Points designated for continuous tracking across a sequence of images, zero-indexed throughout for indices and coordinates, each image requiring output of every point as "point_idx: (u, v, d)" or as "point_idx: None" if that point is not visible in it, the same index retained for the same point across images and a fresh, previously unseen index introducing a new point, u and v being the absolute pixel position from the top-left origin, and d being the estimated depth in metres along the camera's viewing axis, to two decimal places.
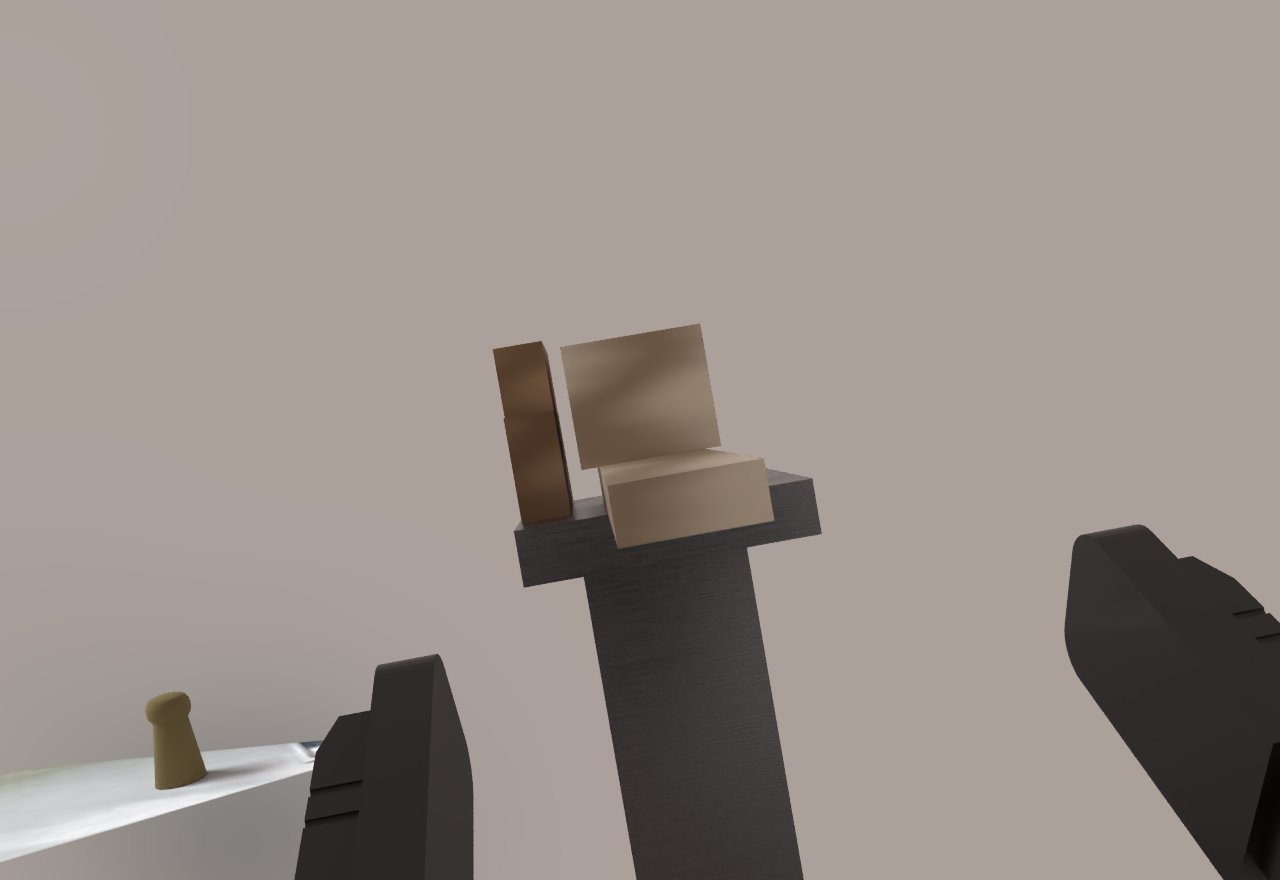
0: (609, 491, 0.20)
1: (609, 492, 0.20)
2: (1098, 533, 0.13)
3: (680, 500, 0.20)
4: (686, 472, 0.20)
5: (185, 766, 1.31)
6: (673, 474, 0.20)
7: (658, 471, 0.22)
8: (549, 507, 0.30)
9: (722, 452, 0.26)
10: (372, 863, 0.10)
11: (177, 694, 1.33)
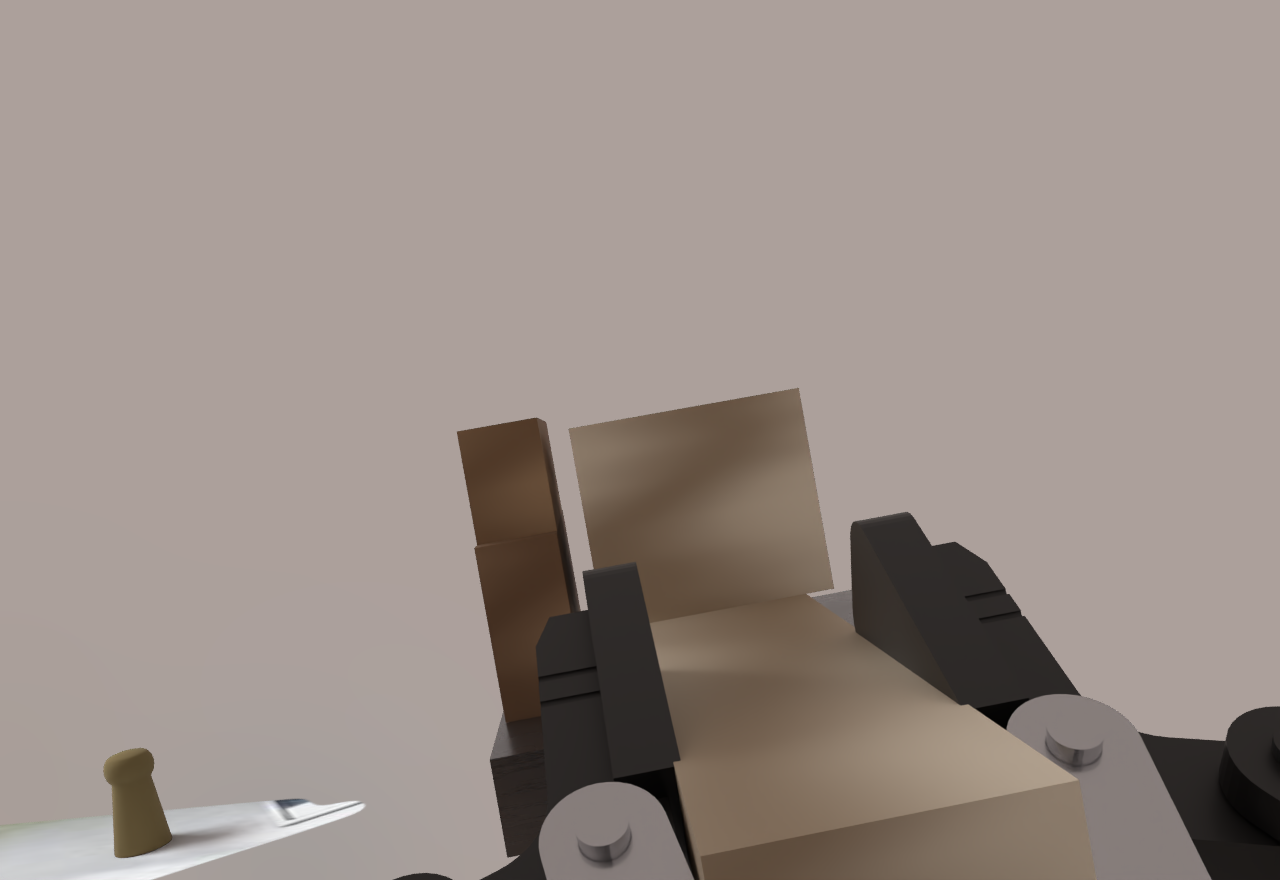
0: (705, 869, 0.08)
1: (705, 871, 0.08)
2: (866, 520, 0.13)
3: None
4: (892, 817, 0.08)
5: (147, 831, 1.19)
6: (859, 821, 0.08)
7: (793, 755, 0.10)
8: None
9: None
10: (624, 729, 0.11)
11: (139, 751, 1.21)
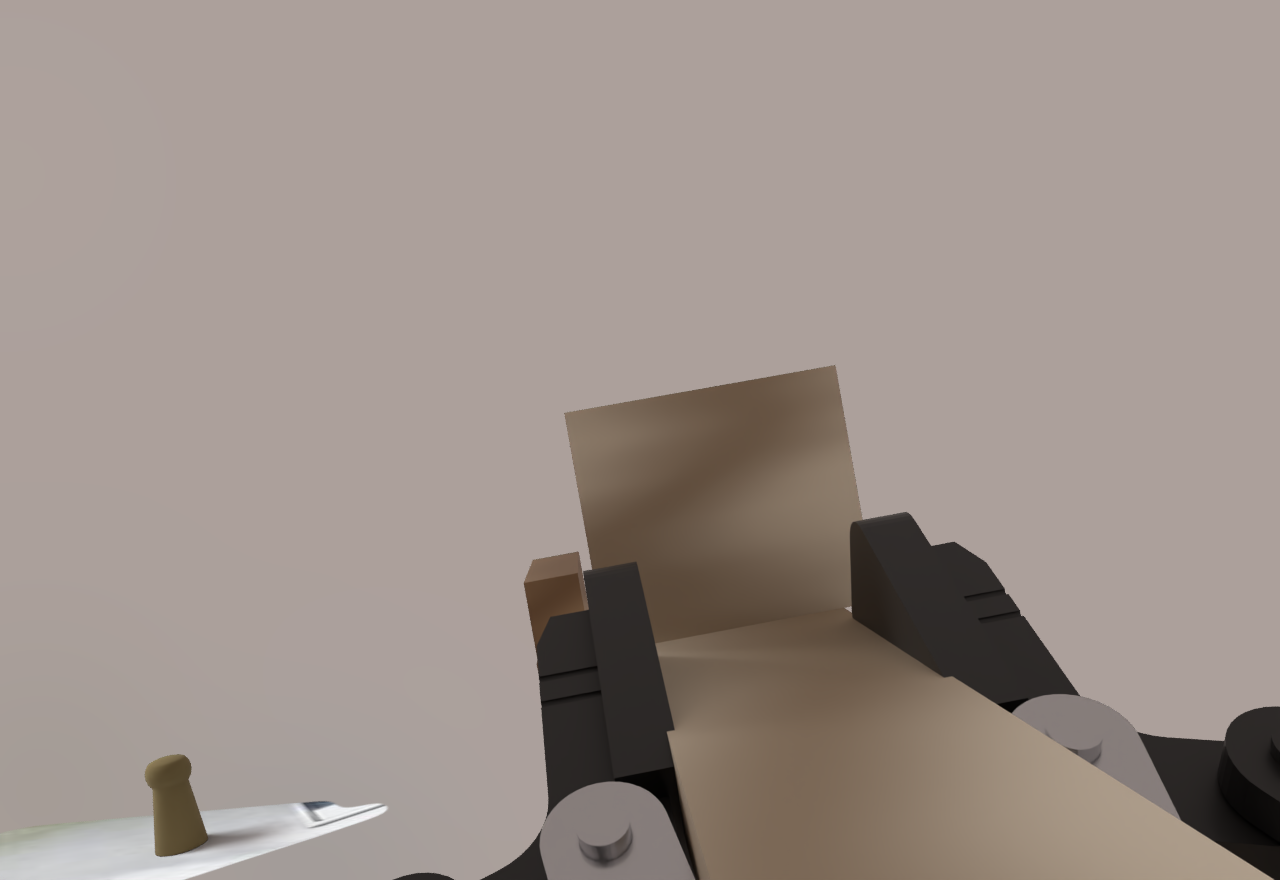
0: None
1: None
2: (866, 520, 0.13)
3: None
4: None
5: (185, 832, 1.28)
6: None
7: (870, 845, 0.07)
8: None
9: (946, 677, 0.11)
10: (625, 728, 0.11)
11: (177, 757, 1.30)
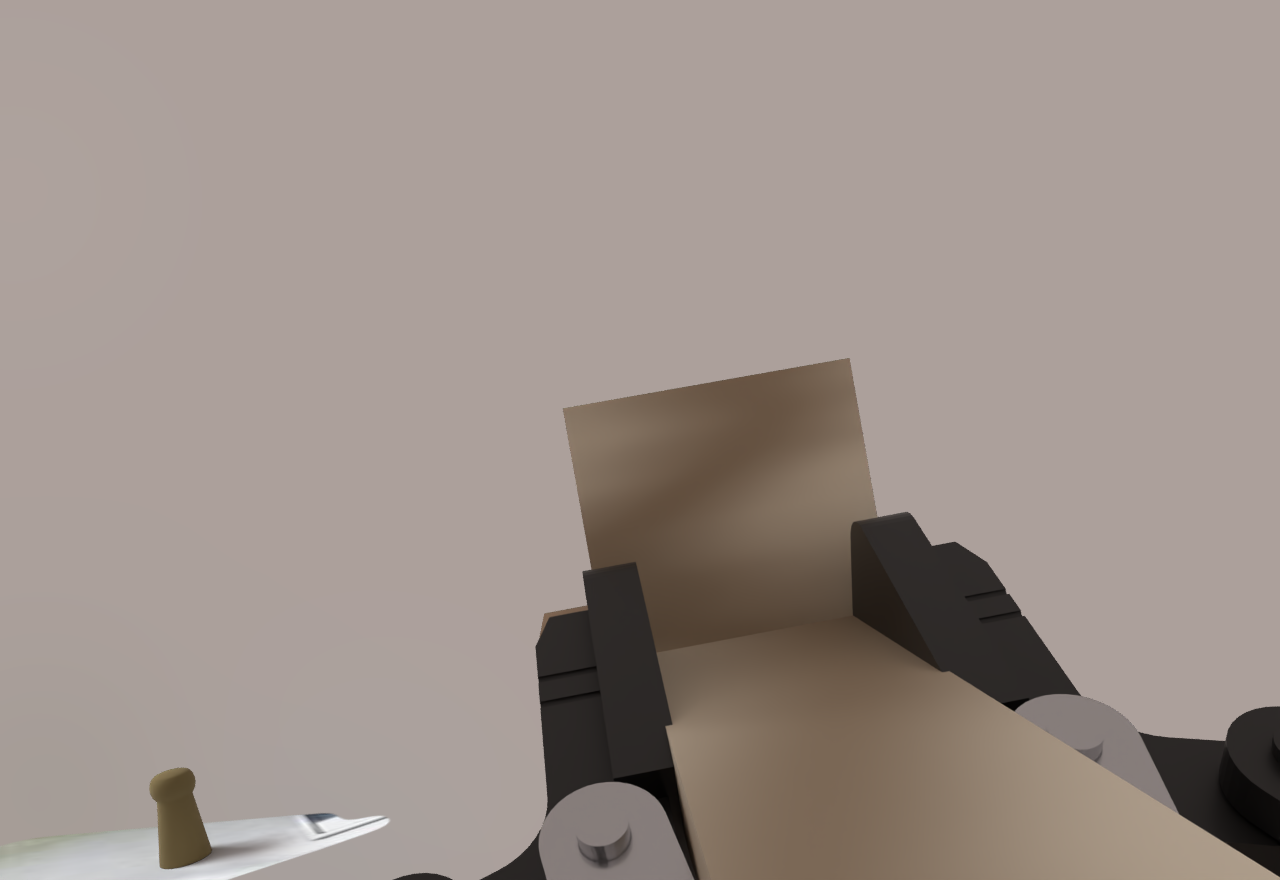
0: None
1: None
2: (867, 520, 0.13)
3: None
4: None
5: (189, 845, 1.30)
6: None
7: None
8: None
9: (976, 693, 0.10)
10: (624, 729, 0.11)
11: (181, 771, 1.31)
